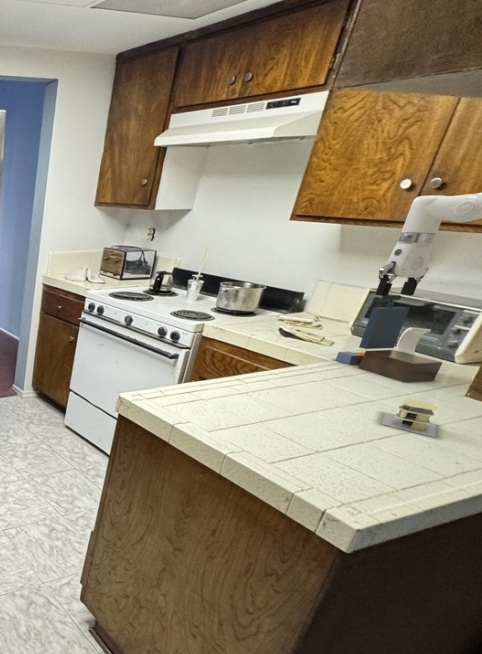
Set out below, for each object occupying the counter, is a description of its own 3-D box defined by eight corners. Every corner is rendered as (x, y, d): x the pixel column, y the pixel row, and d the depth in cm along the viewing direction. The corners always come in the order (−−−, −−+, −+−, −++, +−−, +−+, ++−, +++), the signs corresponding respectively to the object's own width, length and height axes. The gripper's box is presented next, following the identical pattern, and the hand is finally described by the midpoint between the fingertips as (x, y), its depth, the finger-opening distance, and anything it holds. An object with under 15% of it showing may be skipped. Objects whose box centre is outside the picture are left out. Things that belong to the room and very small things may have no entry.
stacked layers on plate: (385, 413, 120) (394, 393, 118) (435, 425, 114) (446, 404, 112) (381, 424, 114) (391, 403, 112) (435, 437, 108) (446, 416, 106)
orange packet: (360, 360, 162) (374, 364, 158) (349, 360, 162) (363, 364, 158) (363, 352, 161) (378, 356, 157) (353, 352, 161) (367, 356, 157)
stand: (433, 380, 144) (442, 362, 142) (404, 382, 142) (412, 363, 140) (386, 366, 156) (393, 349, 154) (358, 368, 154) (365, 350, 152)
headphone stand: (397, 361, 162) (412, 327, 157) (391, 357, 167) (405, 324, 162) (415, 363, 160) (431, 329, 155) (408, 359, 165) (424, 326, 160)
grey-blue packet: (345, 359, 163) (359, 363, 159) (335, 360, 162) (348, 364, 158) (349, 351, 162) (363, 355, 158) (338, 351, 161) (352, 355, 157)
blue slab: (414, 296, 148) (403, 294, 151) (384, 296, 146) (375, 295, 149) (393, 348, 154) (384, 345, 157) (365, 349, 152) (356, 346, 155)
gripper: (407, 239, 138) (384, 297, 145) (454, 239, 141) (429, 296, 147) (379, 238, 145) (358, 293, 151) (424, 238, 148) (402, 292, 154)
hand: (393, 295), depth 149 cm, fingers open, 9 cm apart
